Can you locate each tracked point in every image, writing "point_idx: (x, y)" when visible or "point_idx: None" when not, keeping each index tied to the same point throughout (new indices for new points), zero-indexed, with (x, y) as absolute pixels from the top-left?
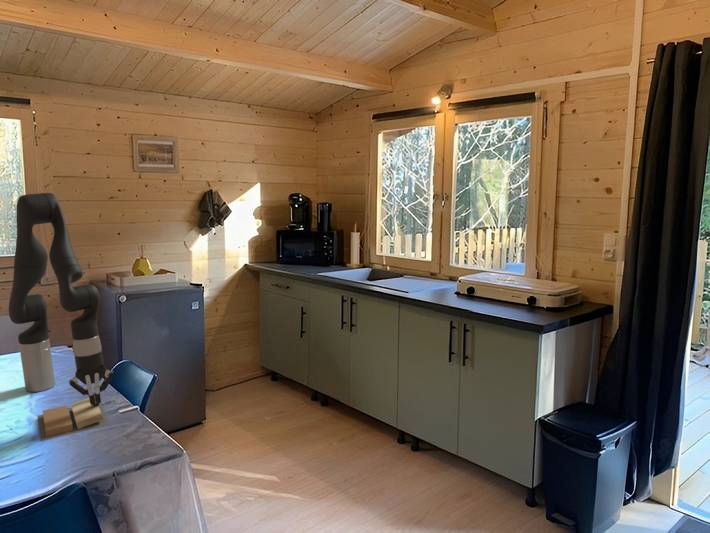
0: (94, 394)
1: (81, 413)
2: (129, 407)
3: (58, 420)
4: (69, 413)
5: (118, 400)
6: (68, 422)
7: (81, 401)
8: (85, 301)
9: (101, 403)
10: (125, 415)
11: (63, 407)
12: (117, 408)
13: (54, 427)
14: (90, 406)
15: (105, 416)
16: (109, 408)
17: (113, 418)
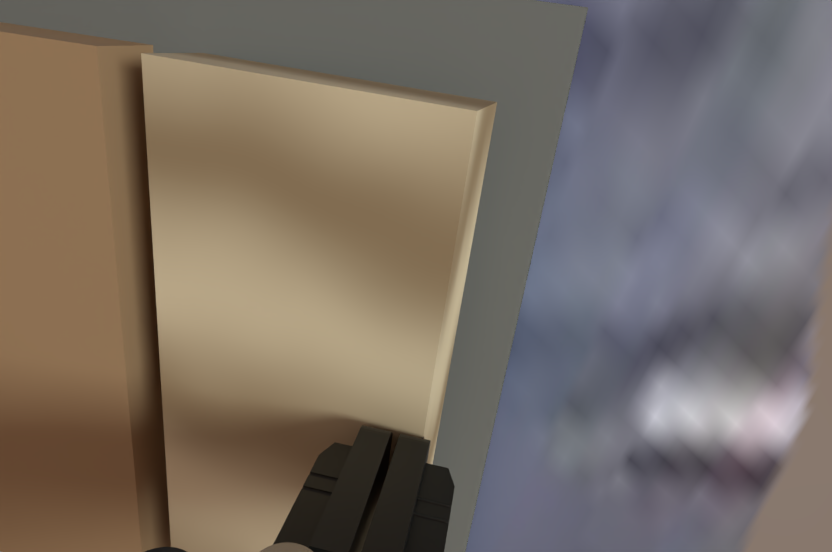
0: (366, 540)
1: (229, 481)
2: (777, 396)
3: (29, 439)
4: (123, 355)
5: (824, 62)
6: (115, 539)
7: (272, 120)
8: None
9: (563, 102)
10: (636, 532)
11: (52, 100)
12: (666, 323)
13: (11, 544)
14: (336, 422)
15: (463, 492)
16: (599, 255)
17: (524, 510)
